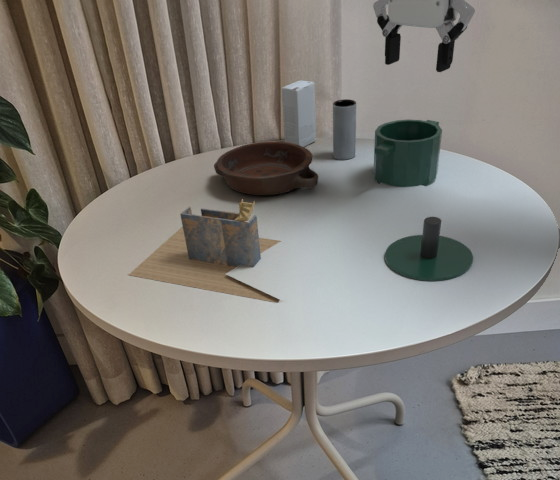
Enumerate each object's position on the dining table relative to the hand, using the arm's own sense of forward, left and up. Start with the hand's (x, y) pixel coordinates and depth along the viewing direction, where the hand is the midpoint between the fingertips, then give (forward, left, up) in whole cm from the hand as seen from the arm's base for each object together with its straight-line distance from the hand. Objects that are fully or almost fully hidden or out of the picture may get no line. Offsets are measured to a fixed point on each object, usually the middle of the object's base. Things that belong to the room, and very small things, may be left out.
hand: (416, 66), depth 93 cm
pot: (+2, -3, -20) cm, 20 cm away
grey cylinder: (+18, -5, -20) cm, 28 cm away
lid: (-18, +21, -19) cm, 34 cm away
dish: (+22, +14, -20) cm, 33 cm away
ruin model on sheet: (+7, +39, -20) cm, 45 cm away
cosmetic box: (+30, -5, -20) cm, 37 cm away
